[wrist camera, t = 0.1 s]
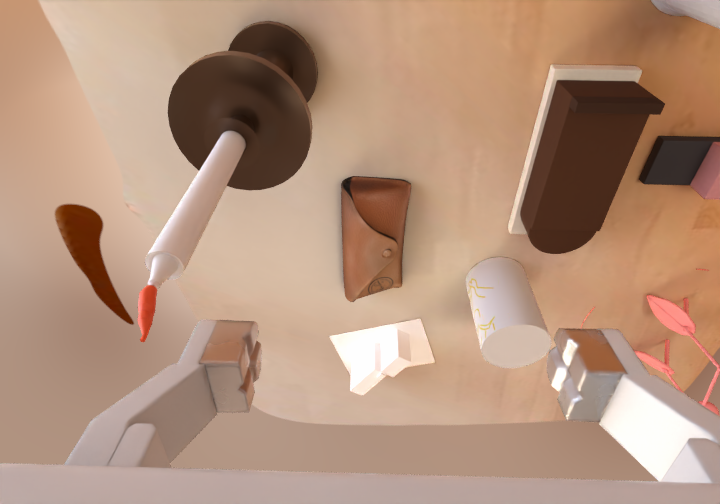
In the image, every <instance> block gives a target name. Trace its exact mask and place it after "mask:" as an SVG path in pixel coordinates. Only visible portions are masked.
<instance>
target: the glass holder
mask: <svg viewBox="0 0 720 504" xmlns="http://www.w3.org/2000/svg"><path fill="white" fill-rule="evenodd" d="M651 1H652V3H653V5H654V6H655V7H656V8H657V9H658V10H660V11H662V12H663V13H666V14H669V15H673V16H686V15H687V16H689V17H692V18H694V19H697V20H699V21H702V22H704V23H706V24H709V25H711V26H714V27H716V28H719V29H720V0H651Z"/></svg>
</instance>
